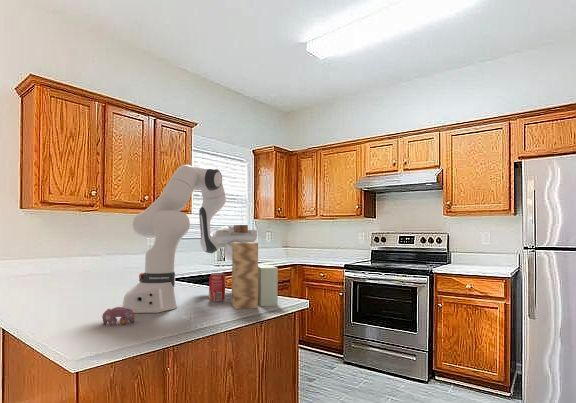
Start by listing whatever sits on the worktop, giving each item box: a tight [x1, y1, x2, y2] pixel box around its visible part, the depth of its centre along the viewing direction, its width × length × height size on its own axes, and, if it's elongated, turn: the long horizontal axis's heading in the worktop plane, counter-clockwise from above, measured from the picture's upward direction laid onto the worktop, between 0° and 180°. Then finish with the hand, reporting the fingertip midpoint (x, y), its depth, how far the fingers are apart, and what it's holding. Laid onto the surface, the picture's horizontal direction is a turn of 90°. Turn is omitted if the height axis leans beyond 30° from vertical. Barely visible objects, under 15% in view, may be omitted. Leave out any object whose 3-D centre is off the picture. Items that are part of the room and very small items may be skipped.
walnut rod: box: [233, 224, 249, 233], centre depth 181 cm, size 3×22×3 cm, turn 15°
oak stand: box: [231, 242, 259, 310], centre depth 165 cm, size 9×12×26 cm
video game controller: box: [101, 306, 136, 326], centre depth 130 cm, size 10×5×7 cm, turn 107°
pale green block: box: [258, 264, 279, 307], centre depth 172 cm, size 7×16×16 cm, turn 15°
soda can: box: [208, 272, 226, 303], centre depth 175 cm, size 7×7×12 cm
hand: (238, 227), depth 188 cm, fingers closed on walnut rod, 3 cm apart
